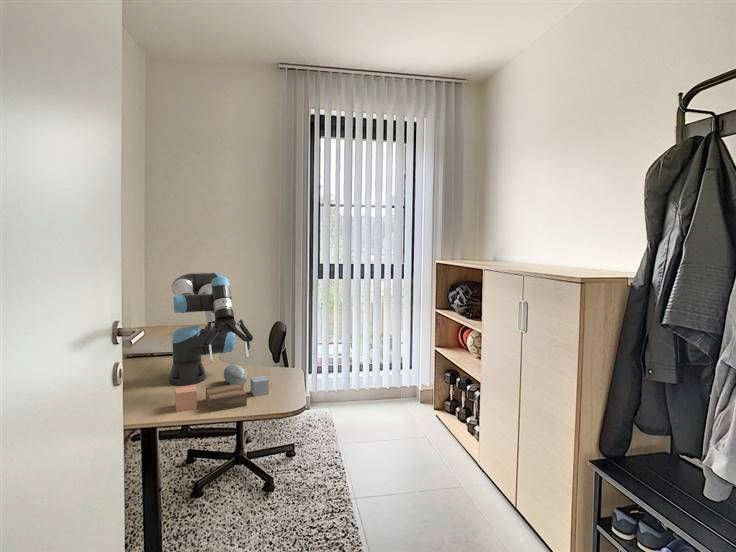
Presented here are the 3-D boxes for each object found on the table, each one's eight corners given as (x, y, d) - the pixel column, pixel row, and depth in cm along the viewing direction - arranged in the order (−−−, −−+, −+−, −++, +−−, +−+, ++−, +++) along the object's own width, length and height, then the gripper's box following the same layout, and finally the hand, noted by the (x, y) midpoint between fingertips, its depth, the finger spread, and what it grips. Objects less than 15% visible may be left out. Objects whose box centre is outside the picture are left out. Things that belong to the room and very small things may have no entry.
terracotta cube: (175, 405, 162) (175, 387, 161) (195, 402, 165) (195, 384, 164) (176, 412, 155) (176, 393, 155) (197, 408, 159) (196, 390, 158)
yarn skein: (216, 374, 188) (228, 355, 187) (236, 380, 193) (247, 361, 192) (221, 391, 176) (234, 371, 176) (242, 397, 181) (254, 377, 181)
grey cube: (250, 391, 177) (250, 377, 176) (265, 389, 179) (264, 375, 179) (253, 396, 171) (253, 382, 171) (268, 394, 174) (268, 379, 174)
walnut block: (206, 400, 167) (205, 388, 167) (240, 395, 173) (239, 383, 173) (210, 412, 156) (210, 399, 155) (246, 406, 162) (246, 393, 161)
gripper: (192, 309, 170) (196, 359, 160) (255, 305, 181) (262, 352, 172) (191, 317, 176) (194, 366, 166) (252, 313, 187) (259, 359, 177)
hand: (229, 359), depth 169 cm, fingers open, 13 cm apart
